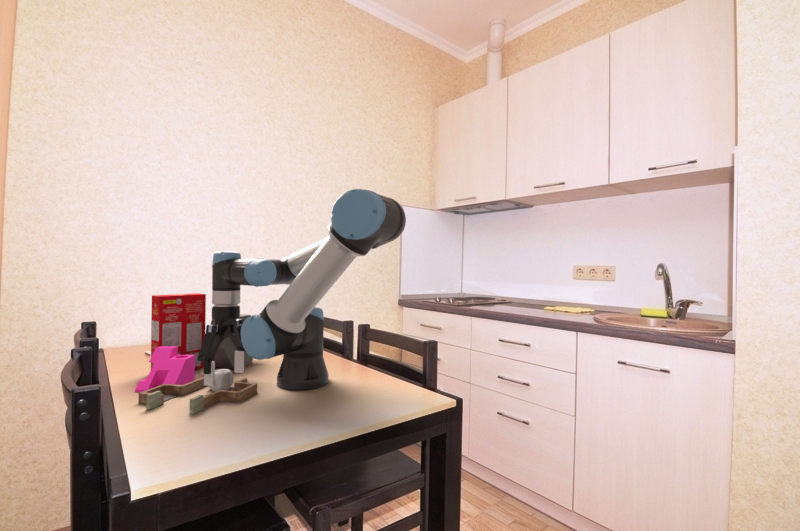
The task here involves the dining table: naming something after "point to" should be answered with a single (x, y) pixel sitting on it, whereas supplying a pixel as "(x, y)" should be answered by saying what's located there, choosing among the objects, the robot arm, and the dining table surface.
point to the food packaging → (179, 323)
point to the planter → (229, 352)
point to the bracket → (168, 369)
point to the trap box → (198, 403)
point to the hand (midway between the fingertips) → (225, 378)
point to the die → (222, 380)
